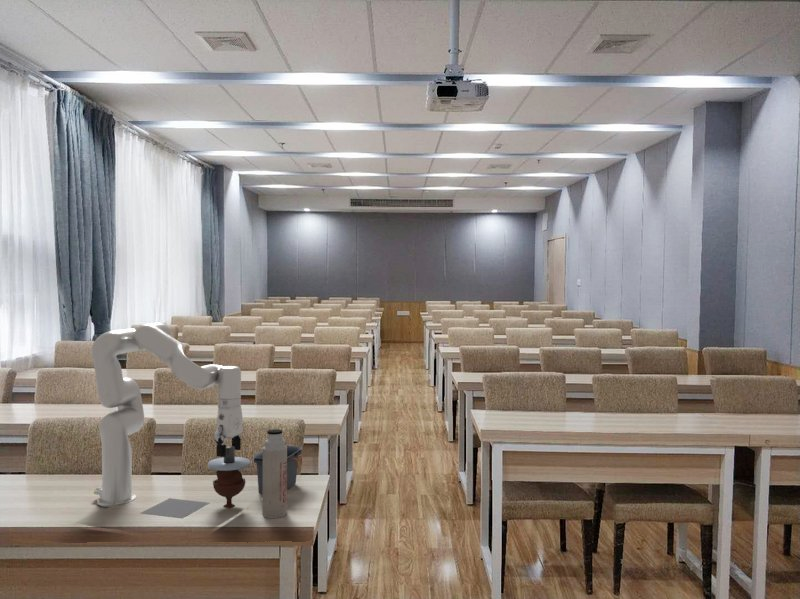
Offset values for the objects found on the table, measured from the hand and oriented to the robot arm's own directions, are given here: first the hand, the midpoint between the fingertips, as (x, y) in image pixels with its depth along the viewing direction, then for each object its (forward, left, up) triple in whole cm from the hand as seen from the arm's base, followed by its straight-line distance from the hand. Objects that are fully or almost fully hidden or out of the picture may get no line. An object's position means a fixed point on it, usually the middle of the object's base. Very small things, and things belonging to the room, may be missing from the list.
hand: (228, 452), depth 227 cm
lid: (0, 0, -4) cm, 4 cm away
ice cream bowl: (0, 0, -19) cm, 19 cm away
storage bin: (+7, +25, -19) cm, 32 cm away
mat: (-16, -7, -19) cm, 26 cm away
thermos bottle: (+17, 0, -19) cm, 26 cm away
